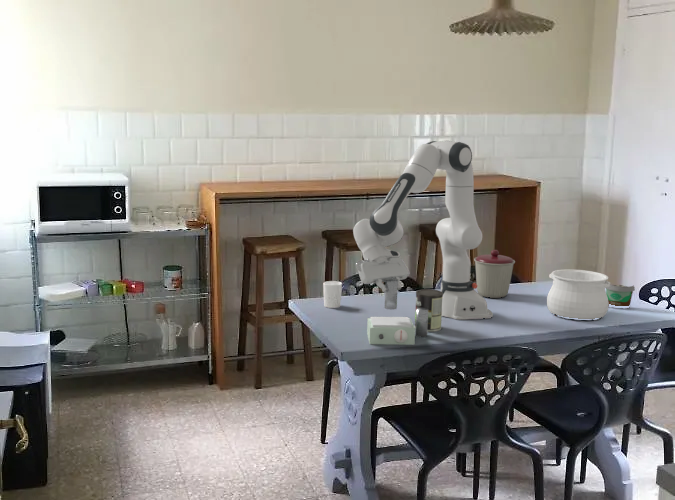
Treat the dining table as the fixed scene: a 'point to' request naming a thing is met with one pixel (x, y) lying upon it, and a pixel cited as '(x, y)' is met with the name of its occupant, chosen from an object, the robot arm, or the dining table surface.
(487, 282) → the canister
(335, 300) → the white cup
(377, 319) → the scale
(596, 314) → the pot
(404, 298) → the dining table surface
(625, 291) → the food container
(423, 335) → the spacer
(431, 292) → the coffee can
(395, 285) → the cylinder
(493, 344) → the dining table surface
